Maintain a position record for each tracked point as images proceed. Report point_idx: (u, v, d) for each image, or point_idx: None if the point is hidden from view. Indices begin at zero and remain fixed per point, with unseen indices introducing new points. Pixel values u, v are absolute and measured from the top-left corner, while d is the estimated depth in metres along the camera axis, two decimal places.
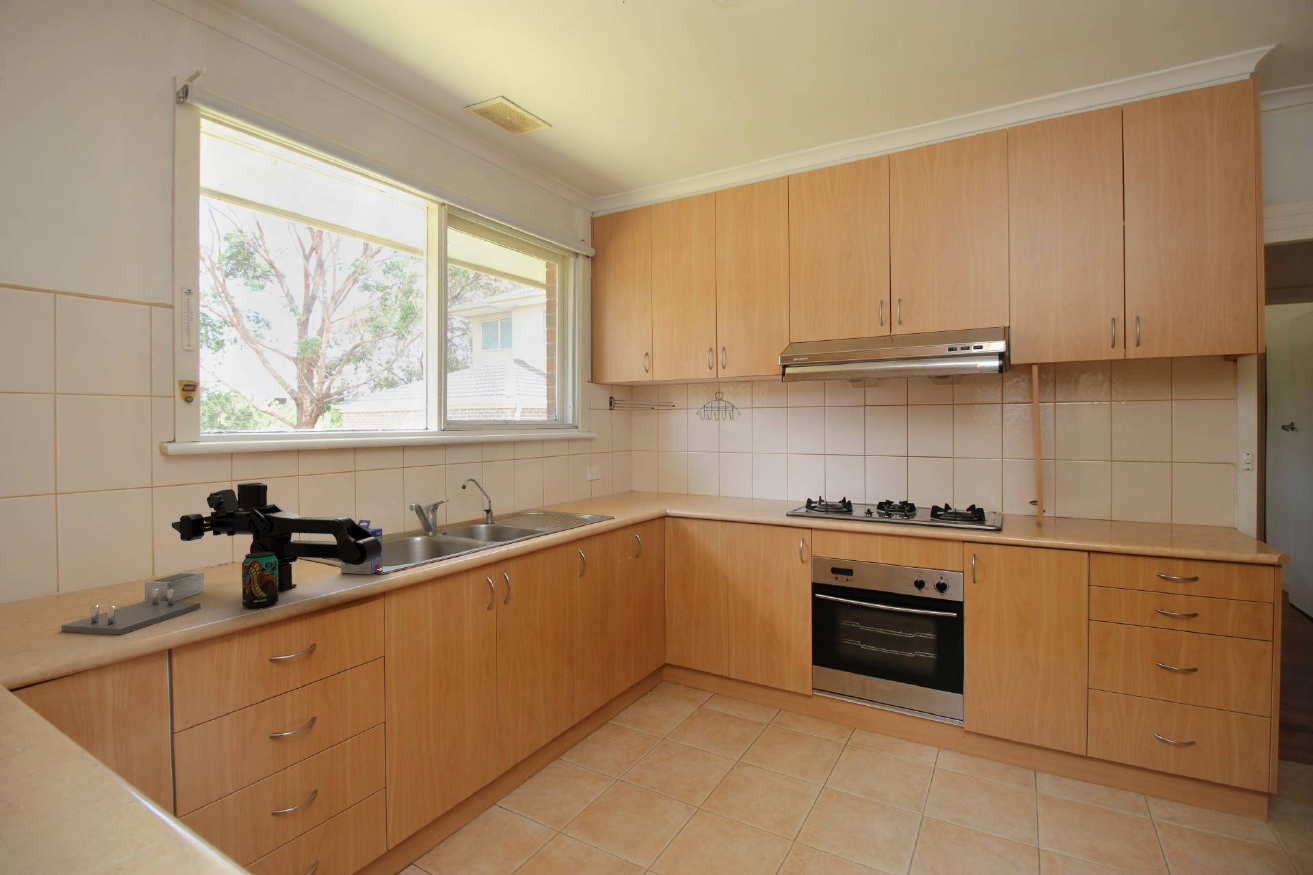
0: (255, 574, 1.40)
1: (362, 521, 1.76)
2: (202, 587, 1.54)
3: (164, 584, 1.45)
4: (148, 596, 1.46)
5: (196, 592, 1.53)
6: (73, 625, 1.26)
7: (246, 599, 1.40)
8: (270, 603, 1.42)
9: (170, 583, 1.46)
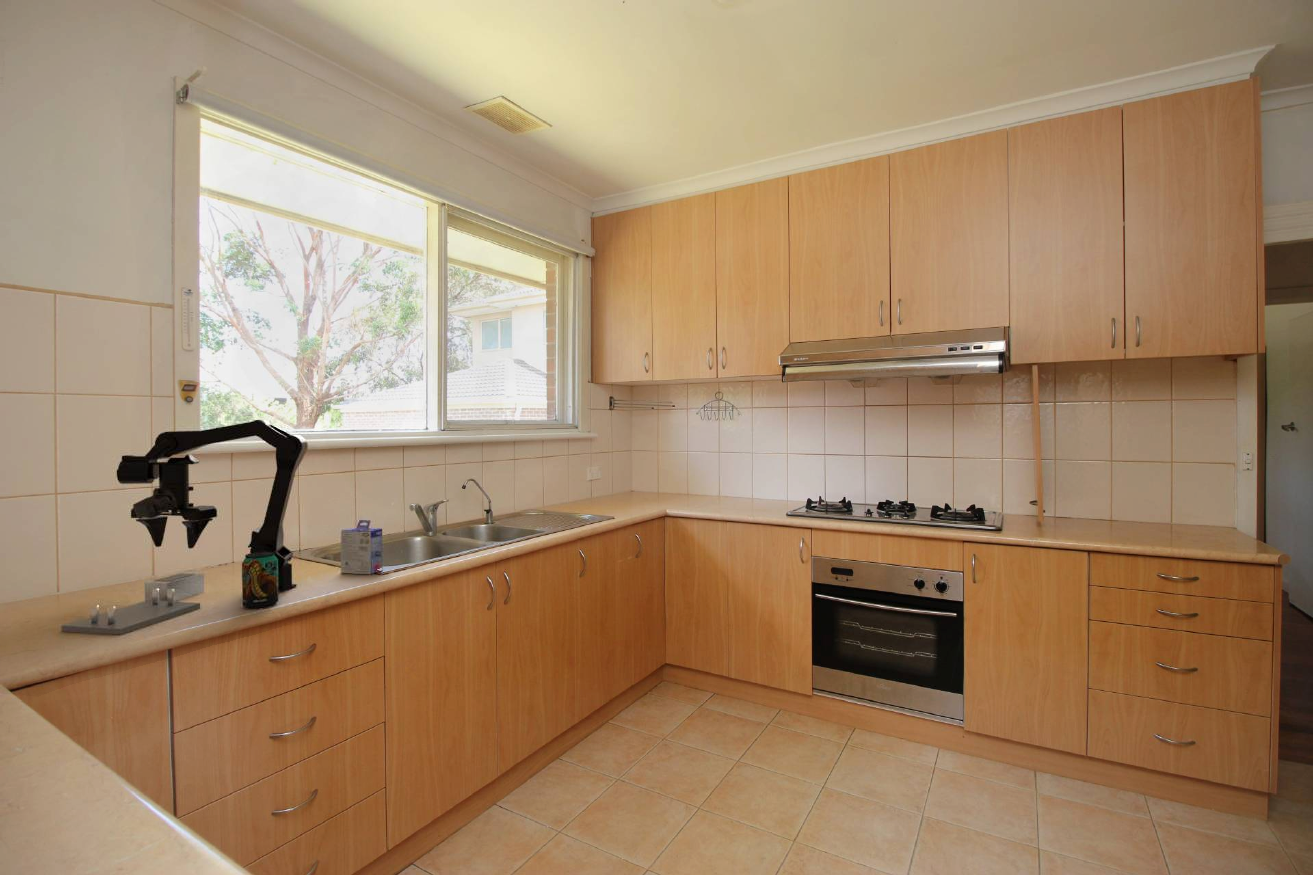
0: (255, 574, 1.40)
1: (362, 521, 1.76)
2: (202, 587, 1.54)
3: (164, 584, 1.45)
4: (148, 596, 1.46)
5: (196, 592, 1.53)
6: (73, 625, 1.26)
7: (246, 599, 1.40)
8: (270, 603, 1.42)
9: (170, 583, 1.46)
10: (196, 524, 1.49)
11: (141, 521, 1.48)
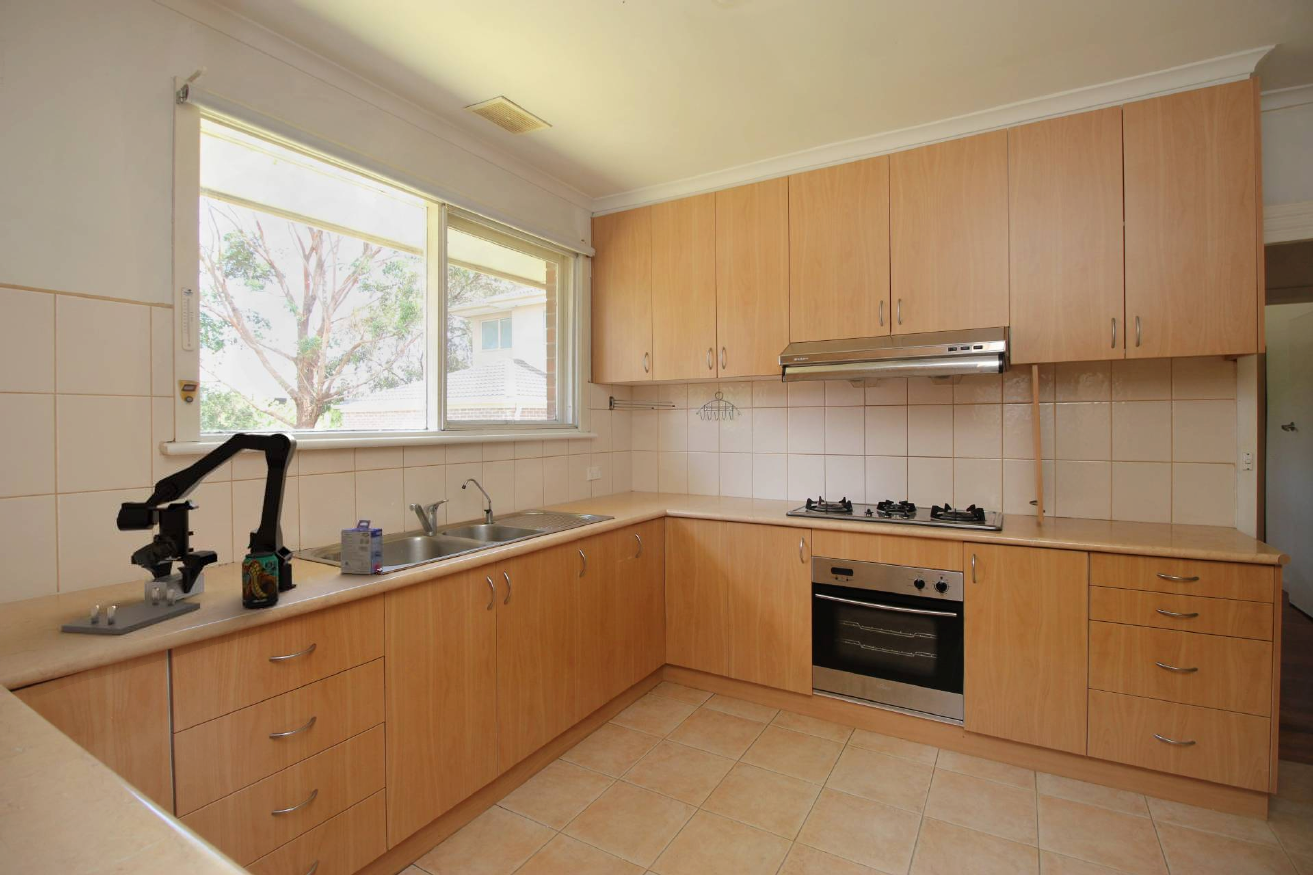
0: (255, 574, 1.40)
1: (362, 521, 1.76)
2: (202, 586, 1.54)
3: (163, 583, 1.45)
4: (148, 595, 1.46)
5: (196, 591, 1.53)
6: (73, 625, 1.26)
7: (246, 599, 1.40)
8: (270, 603, 1.42)
9: (169, 582, 1.46)
10: (192, 569, 1.50)
11: (146, 567, 1.48)
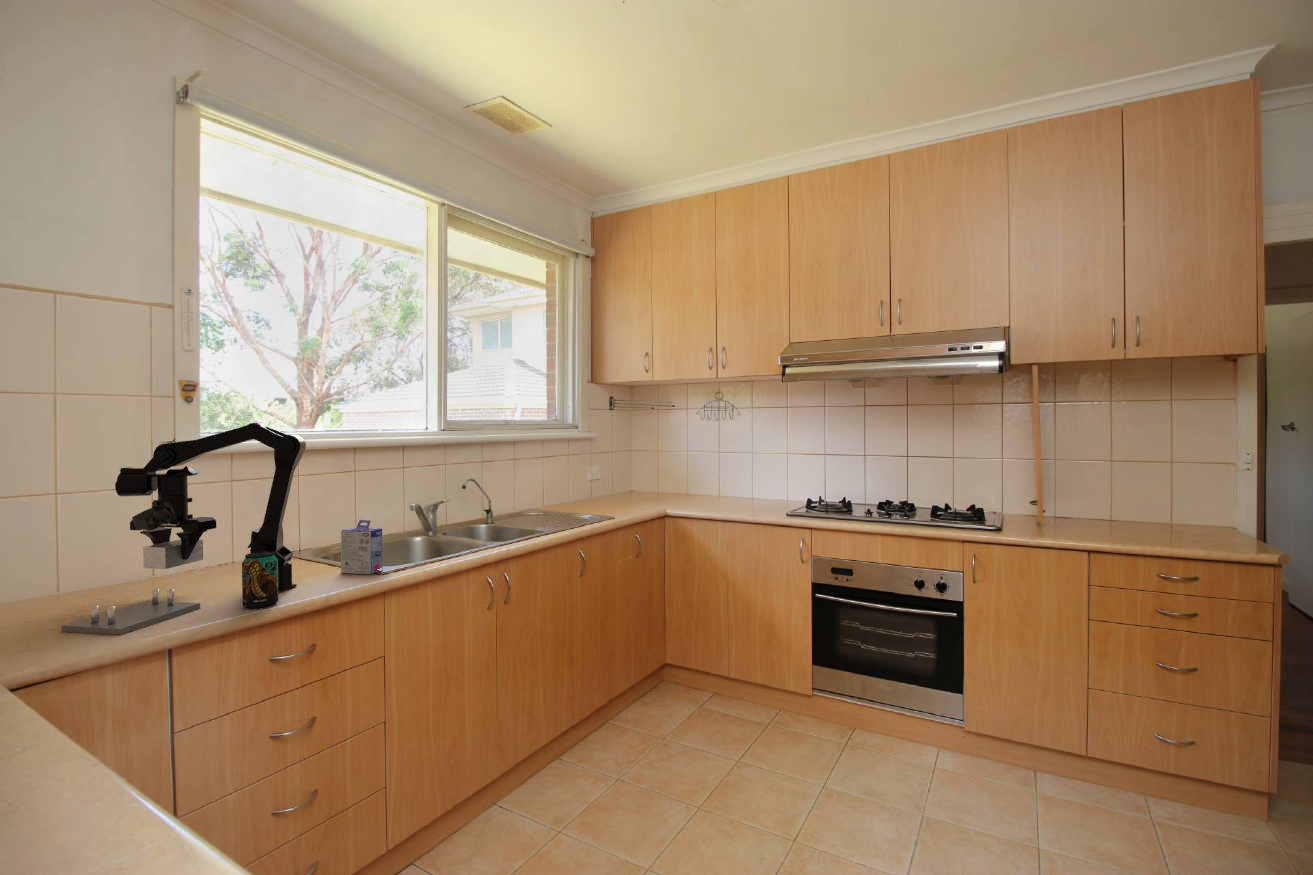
0: (255, 574, 1.40)
1: (362, 521, 1.76)
2: (201, 553, 1.54)
3: (162, 549, 1.45)
4: (146, 561, 1.45)
5: (195, 558, 1.52)
6: (73, 625, 1.26)
7: (246, 599, 1.40)
8: (270, 603, 1.42)
9: (168, 548, 1.45)
10: (190, 535, 1.50)
11: (145, 533, 1.48)
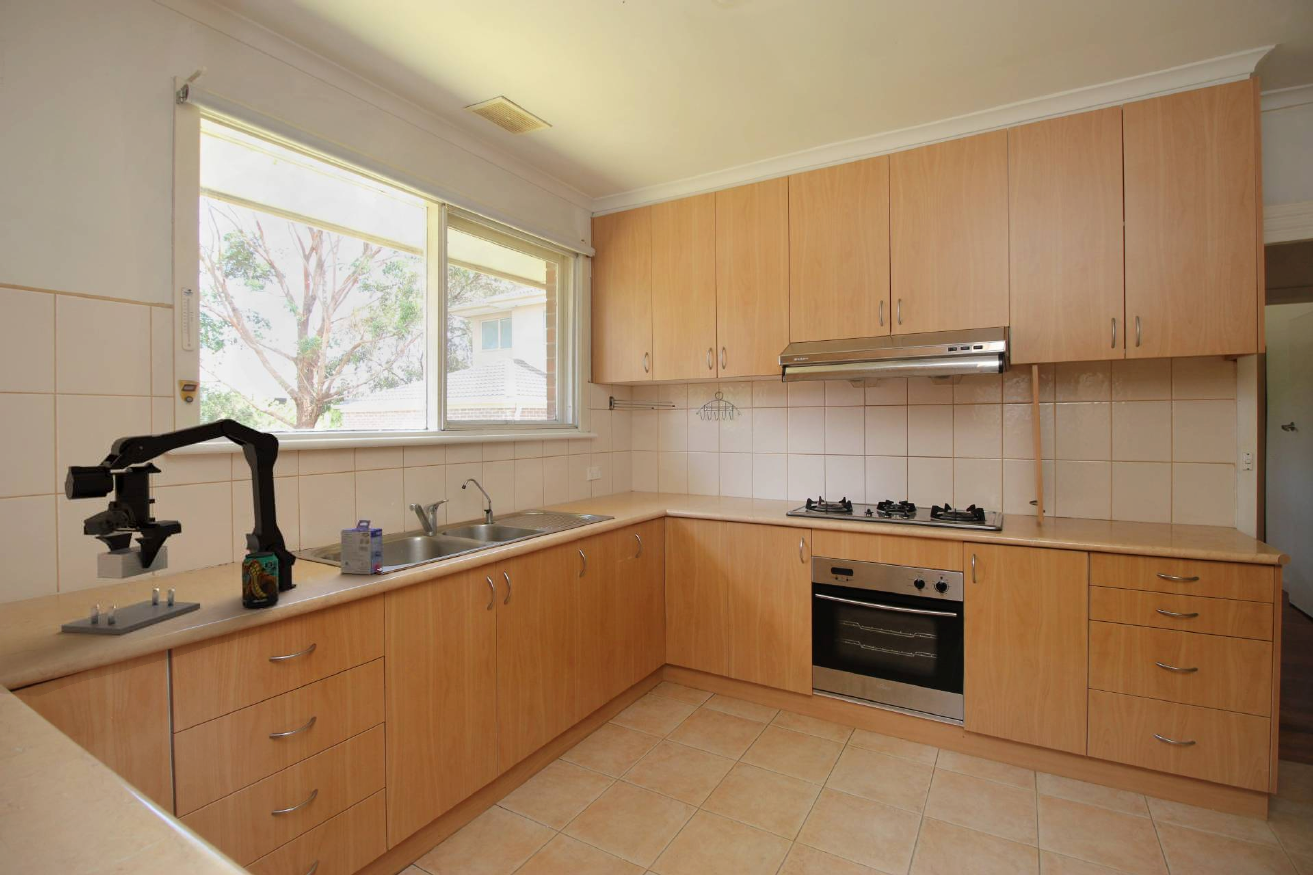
0: (255, 574, 1.40)
1: (362, 521, 1.76)
2: (165, 561, 1.37)
3: (118, 556, 1.28)
4: (101, 569, 1.29)
5: (158, 567, 1.36)
6: (73, 625, 1.26)
7: (246, 599, 1.40)
8: (270, 603, 1.42)
9: (125, 555, 1.29)
10: (152, 541, 1.33)
11: (101, 539, 1.31)
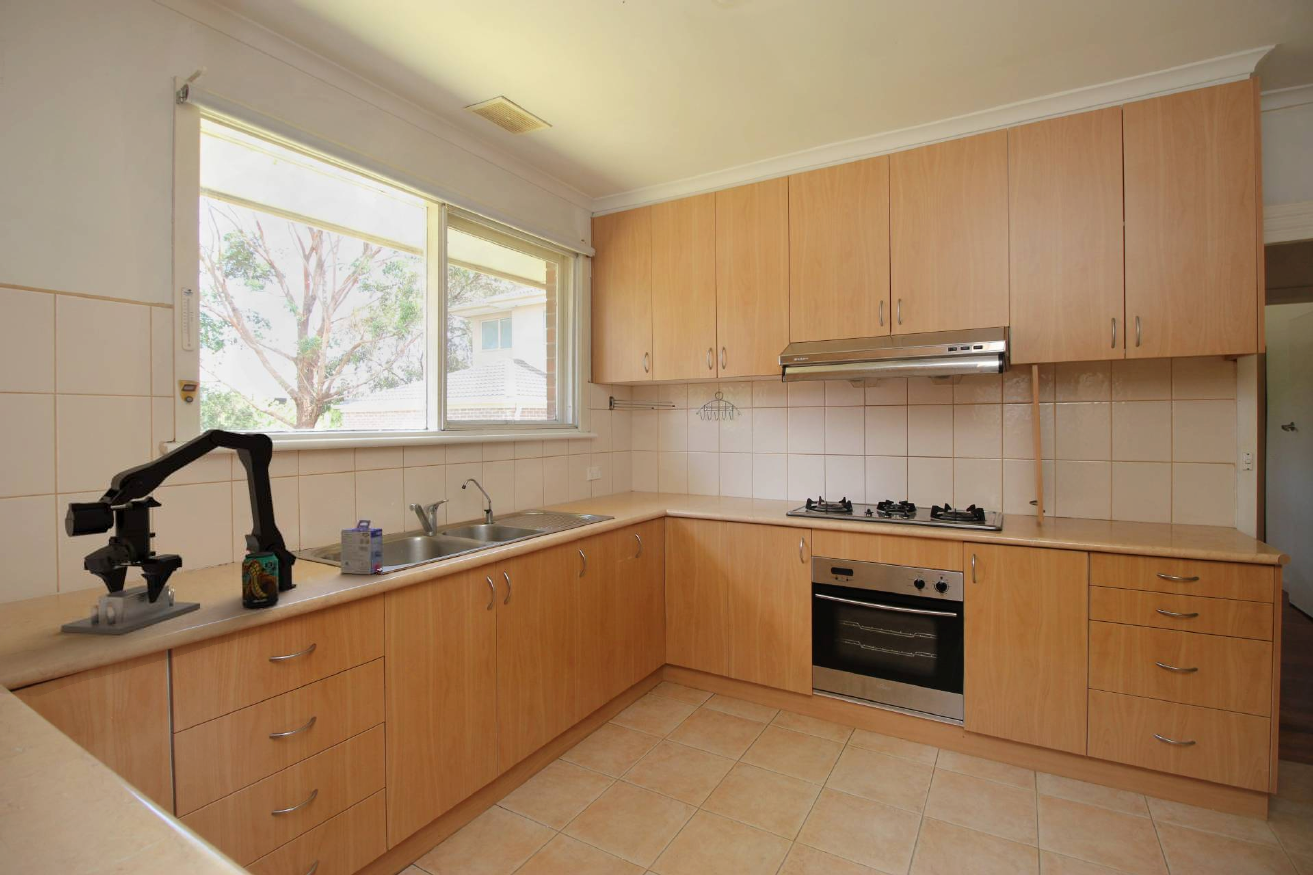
0: (255, 574, 1.40)
1: (362, 521, 1.76)
2: (166, 601, 1.37)
3: (119, 599, 1.28)
4: (102, 612, 1.29)
5: (159, 607, 1.36)
6: (73, 625, 1.26)
7: (246, 599, 1.40)
8: (270, 603, 1.42)
9: (126, 597, 1.29)
10: (158, 576, 1.33)
11: (96, 573, 1.31)
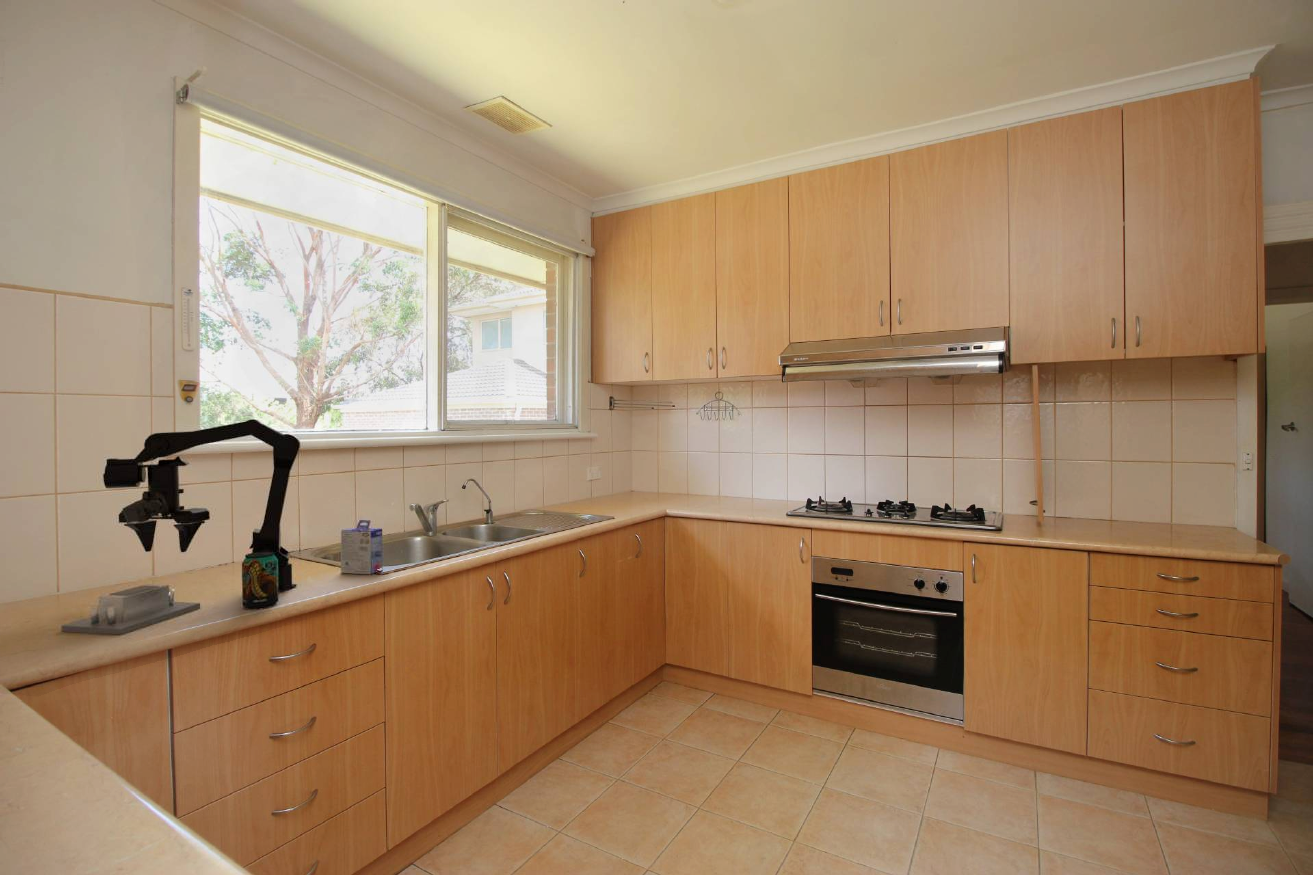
0: (255, 574, 1.40)
1: (362, 521, 1.76)
2: (166, 601, 1.37)
3: (119, 599, 1.28)
4: (102, 612, 1.29)
5: (159, 607, 1.36)
6: (73, 625, 1.26)
7: (246, 599, 1.40)
8: (270, 603, 1.42)
9: (126, 597, 1.29)
10: (188, 527, 1.46)
11: (130, 526, 1.44)
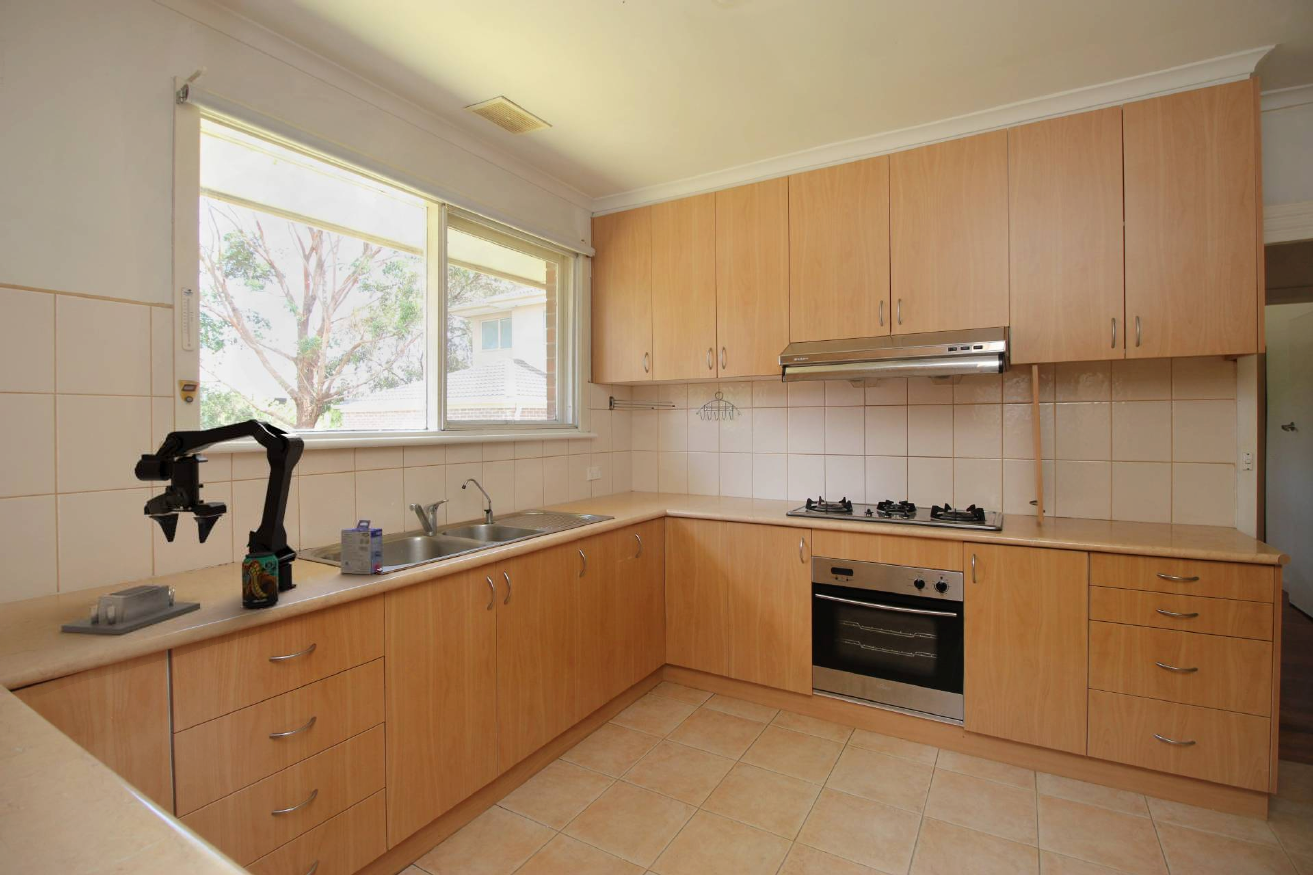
0: (255, 574, 1.40)
1: (362, 521, 1.76)
2: (166, 601, 1.37)
3: (119, 599, 1.28)
4: (102, 612, 1.29)
5: (159, 607, 1.36)
6: (73, 625, 1.26)
7: (246, 599, 1.40)
8: (270, 603, 1.42)
9: (126, 597, 1.29)
10: (207, 520, 1.56)
11: (154, 517, 1.55)
